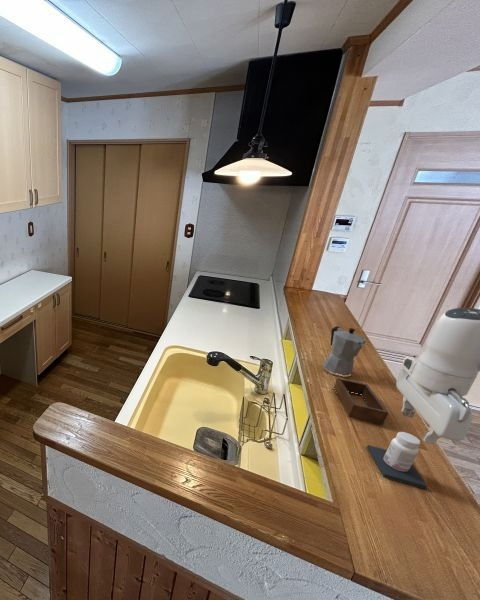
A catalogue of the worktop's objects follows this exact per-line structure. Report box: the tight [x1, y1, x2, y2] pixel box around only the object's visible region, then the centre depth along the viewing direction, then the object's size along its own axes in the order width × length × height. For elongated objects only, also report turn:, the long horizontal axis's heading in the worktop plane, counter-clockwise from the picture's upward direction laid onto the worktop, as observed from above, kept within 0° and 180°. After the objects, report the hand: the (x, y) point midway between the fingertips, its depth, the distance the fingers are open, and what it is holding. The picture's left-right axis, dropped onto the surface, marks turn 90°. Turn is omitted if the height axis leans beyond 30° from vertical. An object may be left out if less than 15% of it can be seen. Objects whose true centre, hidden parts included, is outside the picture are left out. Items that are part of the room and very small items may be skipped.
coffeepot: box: [321, 325, 367, 379], centre depth 121 cm, size 15×9×18 cm, turn 174°
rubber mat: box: [366, 444, 428, 490], centre depth 81 cm, size 8×10×1 cm
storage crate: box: [333, 377, 389, 426], centre depth 103 cm, size 8×16×4 cm, turn 158°
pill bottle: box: [384, 431, 421, 472], centre depth 79 cm, size 5×5×8 cm
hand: (416, 427), depth 76 cm, fingers open, 8 cm apart
